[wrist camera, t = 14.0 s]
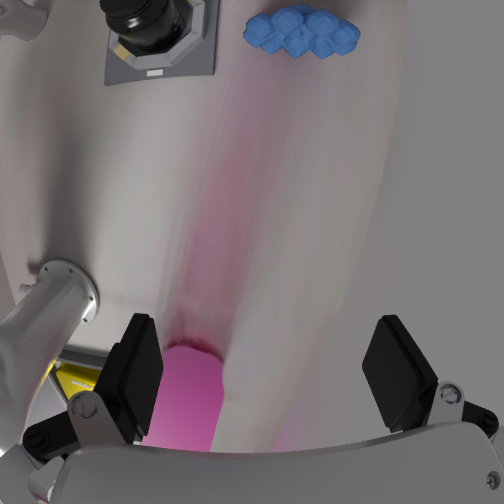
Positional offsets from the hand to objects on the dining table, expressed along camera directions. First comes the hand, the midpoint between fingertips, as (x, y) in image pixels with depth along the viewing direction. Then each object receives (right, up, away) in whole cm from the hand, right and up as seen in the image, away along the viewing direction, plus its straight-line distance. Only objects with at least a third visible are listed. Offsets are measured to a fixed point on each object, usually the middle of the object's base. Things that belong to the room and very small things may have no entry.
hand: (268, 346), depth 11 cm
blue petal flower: (+4, +29, +16) cm, 33 cm away
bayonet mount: (-12, +31, +14) cm, 36 cm away
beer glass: (-35, +39, +10) cm, 53 cm away
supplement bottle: (-12, +31, +14) cm, 36 cm away
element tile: (-36, -26, +40) cm, 60 cm away
